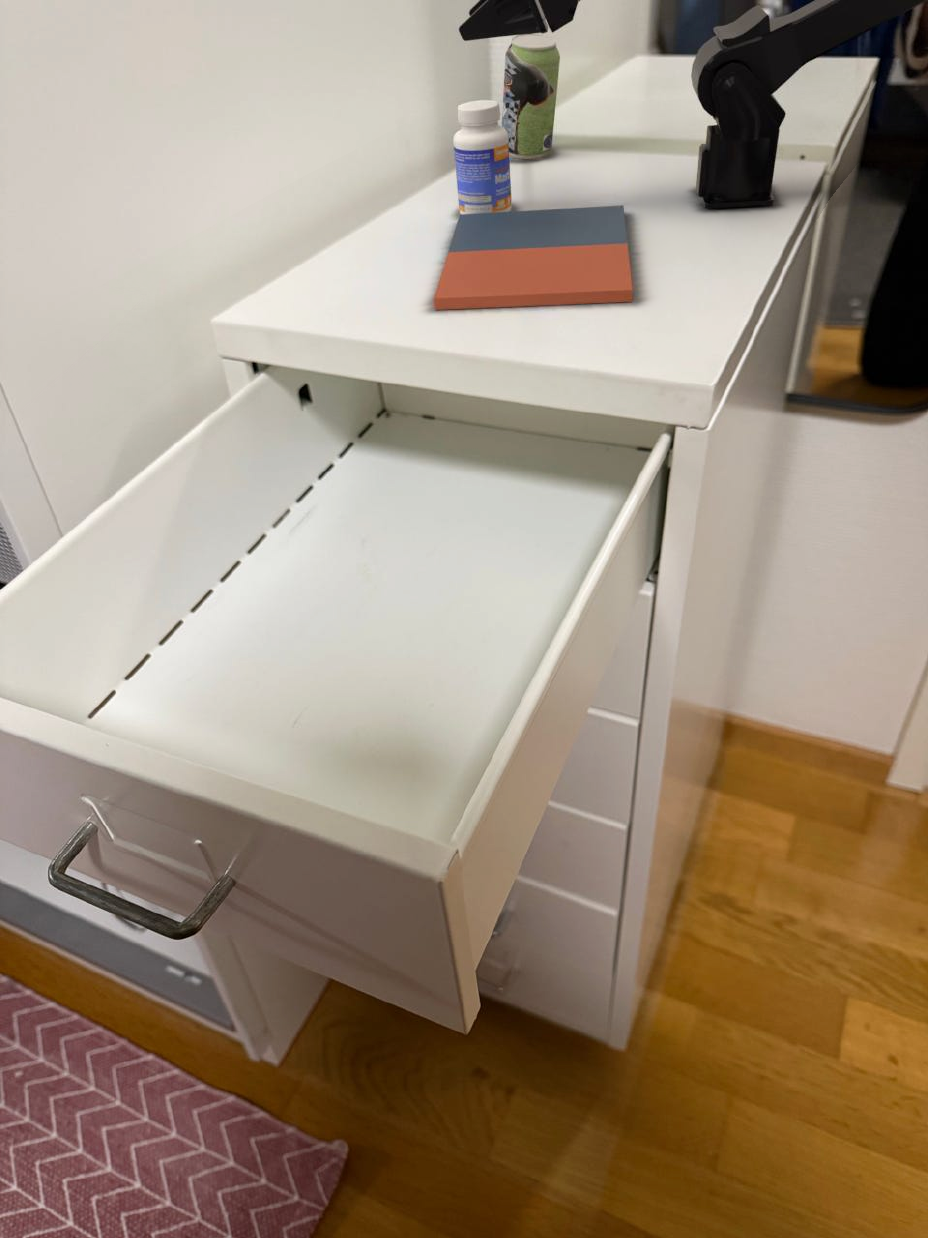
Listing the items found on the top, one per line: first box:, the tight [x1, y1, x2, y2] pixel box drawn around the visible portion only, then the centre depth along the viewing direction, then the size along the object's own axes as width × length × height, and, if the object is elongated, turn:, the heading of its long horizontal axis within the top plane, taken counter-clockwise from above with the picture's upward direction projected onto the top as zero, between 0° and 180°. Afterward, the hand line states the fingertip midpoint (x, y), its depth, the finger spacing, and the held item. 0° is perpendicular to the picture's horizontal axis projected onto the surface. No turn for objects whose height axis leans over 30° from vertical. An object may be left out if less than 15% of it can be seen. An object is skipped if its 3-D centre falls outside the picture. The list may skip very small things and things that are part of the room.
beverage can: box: [501, 33, 561, 160], centre depth 100 cm, size 6×7×12 cm
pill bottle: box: [452, 99, 512, 214], centre depth 87 cm, size 5×5×10 cm
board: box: [433, 205, 634, 311], centre depth 78 cm, size 16×21×1 cm
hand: (466, 25), depth 79 cm, fingers open, 9 cm apart
